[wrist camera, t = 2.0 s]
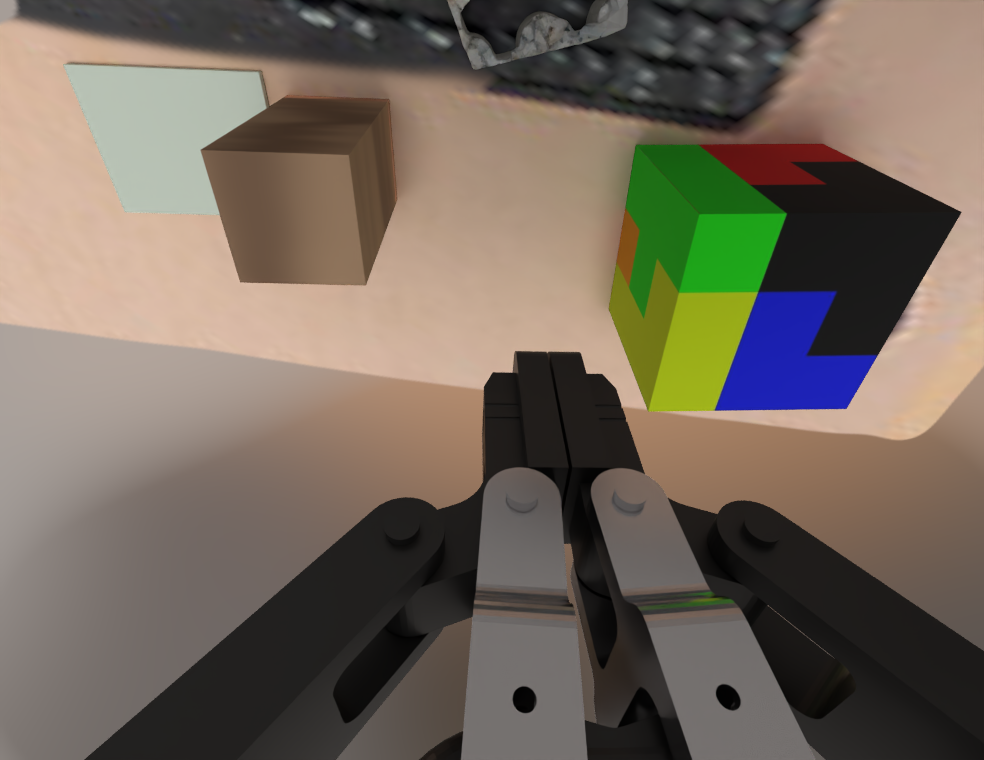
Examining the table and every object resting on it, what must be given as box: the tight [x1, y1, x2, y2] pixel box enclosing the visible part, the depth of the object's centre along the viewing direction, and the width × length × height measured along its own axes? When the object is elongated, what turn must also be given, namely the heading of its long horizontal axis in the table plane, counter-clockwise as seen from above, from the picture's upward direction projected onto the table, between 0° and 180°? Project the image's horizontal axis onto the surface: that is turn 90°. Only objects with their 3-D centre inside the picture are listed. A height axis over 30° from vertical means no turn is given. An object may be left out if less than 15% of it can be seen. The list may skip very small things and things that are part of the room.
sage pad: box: [63, 63, 269, 215], centre depth 26 cm, size 9×7×1 cm
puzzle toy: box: [609, 144, 961, 411], centre depth 26 cm, size 10×10×10 cm
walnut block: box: [200, 95, 397, 285], centre depth 23 cm, size 5×5×10 cm
